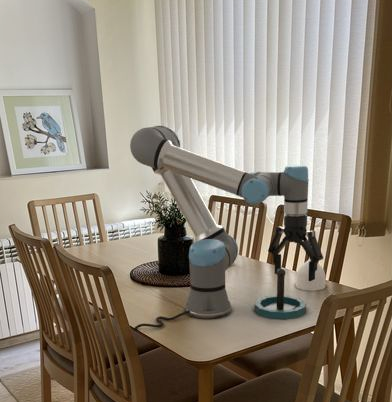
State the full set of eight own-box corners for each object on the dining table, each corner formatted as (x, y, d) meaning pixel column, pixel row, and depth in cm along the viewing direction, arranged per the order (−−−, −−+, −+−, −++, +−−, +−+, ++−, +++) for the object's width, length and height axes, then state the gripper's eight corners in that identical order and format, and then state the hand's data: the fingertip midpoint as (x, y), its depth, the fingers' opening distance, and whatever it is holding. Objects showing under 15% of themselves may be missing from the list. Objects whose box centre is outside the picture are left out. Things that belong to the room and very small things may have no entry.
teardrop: (315, 280, 213) (317, 250, 209) (331, 288, 203) (332, 257, 199) (290, 283, 210) (291, 253, 206) (304, 292, 200) (305, 260, 196)
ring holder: (283, 316, 179) (284, 273, 174) (263, 310, 184) (263, 269, 179) (296, 309, 184) (298, 267, 179) (277, 304, 189) (278, 263, 184)
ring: (286, 323, 173) (286, 315, 172) (245, 311, 184) (245, 304, 183) (314, 308, 184) (315, 302, 183) (274, 298, 195) (274, 292, 194)
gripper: (335, 216, 173) (332, 280, 180) (271, 208, 189) (271, 268, 196) (323, 220, 168) (320, 286, 175) (258, 212, 184) (258, 272, 191)
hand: (294, 276), depth 185 cm, fingers open, 13 cm apart
